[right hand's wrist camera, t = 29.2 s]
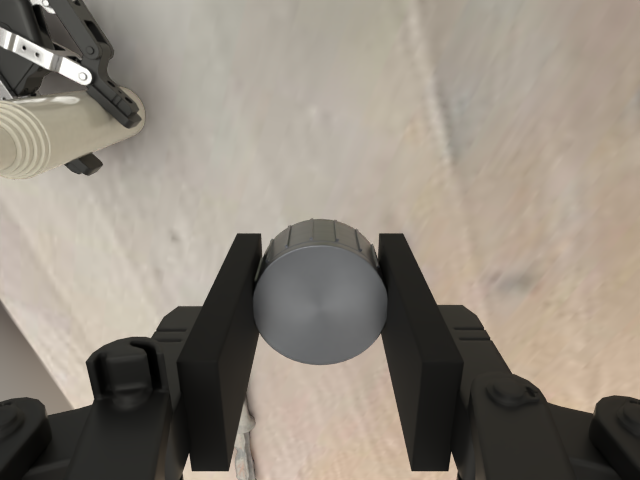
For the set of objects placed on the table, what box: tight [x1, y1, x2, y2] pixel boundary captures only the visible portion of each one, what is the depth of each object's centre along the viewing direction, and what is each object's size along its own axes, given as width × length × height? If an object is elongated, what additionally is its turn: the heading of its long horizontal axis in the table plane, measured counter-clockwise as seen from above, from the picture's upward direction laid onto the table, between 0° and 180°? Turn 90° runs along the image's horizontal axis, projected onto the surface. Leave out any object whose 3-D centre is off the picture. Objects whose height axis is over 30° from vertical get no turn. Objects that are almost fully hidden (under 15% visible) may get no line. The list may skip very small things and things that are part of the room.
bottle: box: [0, 86, 145, 179], centre depth 31 cm, size 4×4×20 cm
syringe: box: [234, 395, 256, 480], centre depth 50 cm, size 25×4×3 cm, turn 0°
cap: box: [253, 219, 388, 365], centre depth 14 cm, size 4×4×2 cm
